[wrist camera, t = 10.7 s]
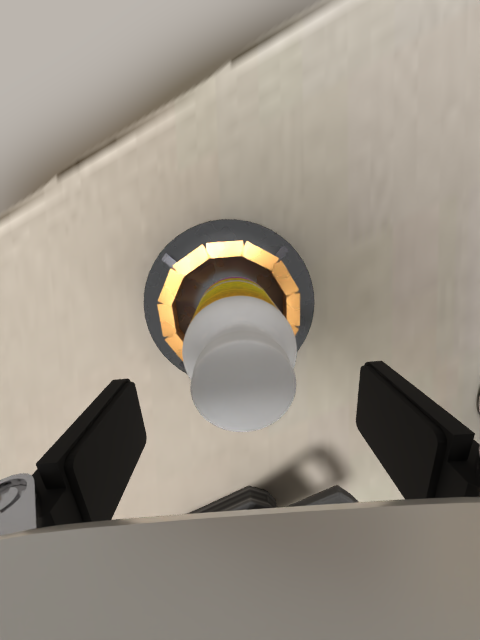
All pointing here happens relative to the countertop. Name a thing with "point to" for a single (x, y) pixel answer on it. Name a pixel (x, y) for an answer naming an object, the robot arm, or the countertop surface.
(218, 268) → the rosette plate
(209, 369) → the supplement bottle
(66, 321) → the countertop surface
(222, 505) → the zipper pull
